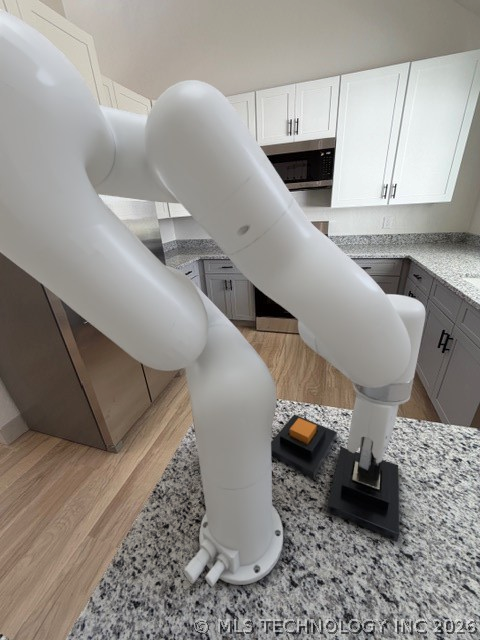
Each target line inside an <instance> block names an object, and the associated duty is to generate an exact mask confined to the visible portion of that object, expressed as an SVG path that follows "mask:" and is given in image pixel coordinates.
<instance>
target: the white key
mask: <svg viewBox="0 0 480 640" xmlns="http://www.w3.org/2000/svg"><path fill="white" fill-rule="evenodd" d="M357 470H358V462H356V461H355V467H354V473H353V479H352V482H353V483H355V484H358V485H361V486H364V487H366V488H369V489H372V490H375V491H377V492H379V487H380V476H379V479H378V481H374V480H372V479H370V478H368V477H366V476H364V475H362V474H360V473H358V471H357Z"/></svg>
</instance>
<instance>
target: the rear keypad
mask: <svg viewBox="0 0 480 640" xmlns="http://www.w3.org/2000/svg"><path fill="white" fill-rule="evenodd" d="M298 418H300V419H303V420H305V421H307V422H310V423H312V424H315V425H317V426H316V433H315V435H314V436H313V438H312V439H311V441H310V442H309V444H306V443H304V442H302V441H300V440H298V439H296V438H294V437H291V436H290V428H291V427H292V426H293V424H294V423H295V422H296V421H297V419H298ZM337 436H338V431H336V430H333V429H331V428H328V427H326V426H324V425H321V424H319V423H317V422H314V421H311V420H309V419H307V418H305V417H303V416H300V415H297V414H296V413H294V414H293V415H292V417H291V418H290V419H289V420H288V421H287V423H286V424H285V425H284V426H283V427H282V428H281V430H280V431H279V432H278V433H277V434H276V436H274V438H273V439H272V440H271V458H274V459H276V460H278V461H280V462H281V463H282V464H284V465H287V466H288V467H290V468H291V469H294V470H296V471H297V472H299V473H301V474H303V475H305V476H307V477H309V478H311V480H314V479H315V477H316V475H317V474H318V472H319V470H320V468H321V466H322V465H323V463H324V462H325V460H326V457H327V456H328V454H329V452H331V451H330V450H331V449H332V448H333V445H334V443H335V442H336V440H337V438H338V437H337Z"/></svg>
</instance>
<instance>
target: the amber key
mask: <svg viewBox="0 0 480 640" xmlns="http://www.w3.org/2000/svg"><path fill="white" fill-rule="evenodd" d="M316 426H317V425H315V424H312V423H310V422H307V421H305V420H303V419H300V418H298V419H297V421H296V422H295V423H294V424H293V426H292V427H291V428H290V436H291V437H294V438H296V439H298V440H300V441H302V442H304V443H306V444H309V442H310V441H311V439H312V438H313V436H314V435H315V433H316Z"/></svg>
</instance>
